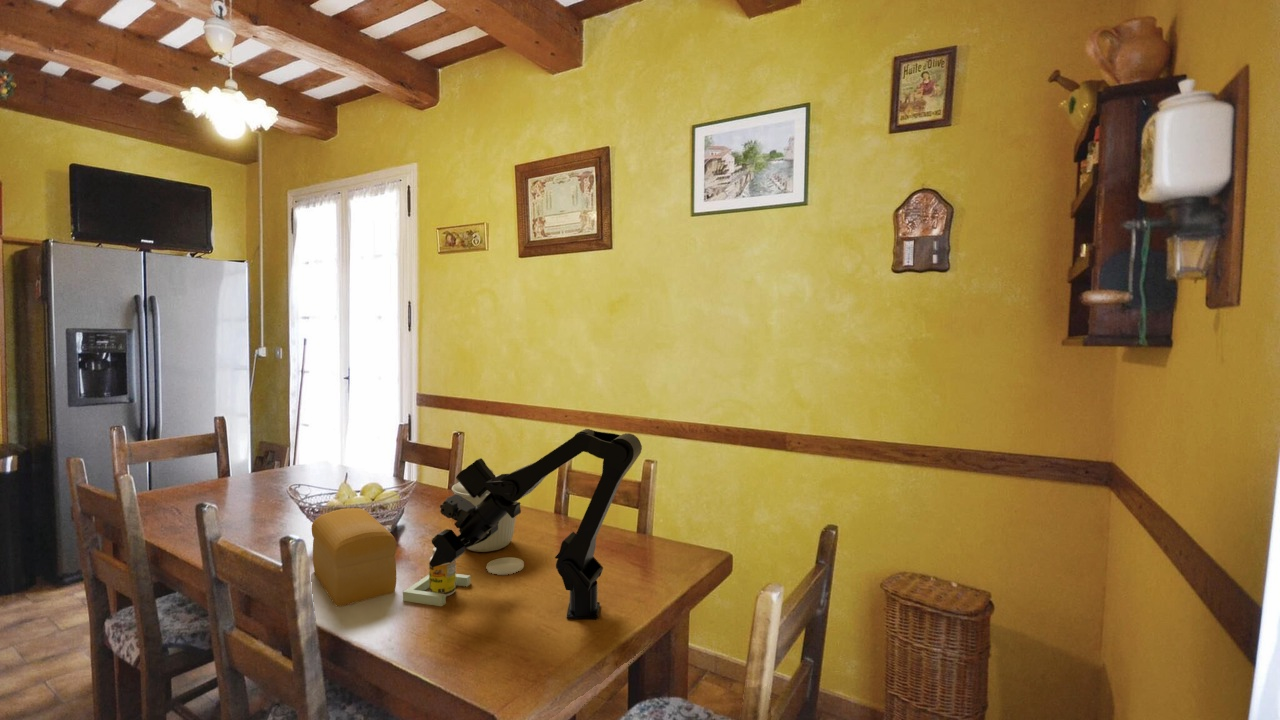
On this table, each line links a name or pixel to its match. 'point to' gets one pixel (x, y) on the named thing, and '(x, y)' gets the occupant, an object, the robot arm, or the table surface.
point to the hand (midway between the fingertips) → (443, 557)
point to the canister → (494, 541)
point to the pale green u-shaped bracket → (421, 596)
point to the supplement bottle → (442, 577)
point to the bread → (353, 556)
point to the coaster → (505, 566)
